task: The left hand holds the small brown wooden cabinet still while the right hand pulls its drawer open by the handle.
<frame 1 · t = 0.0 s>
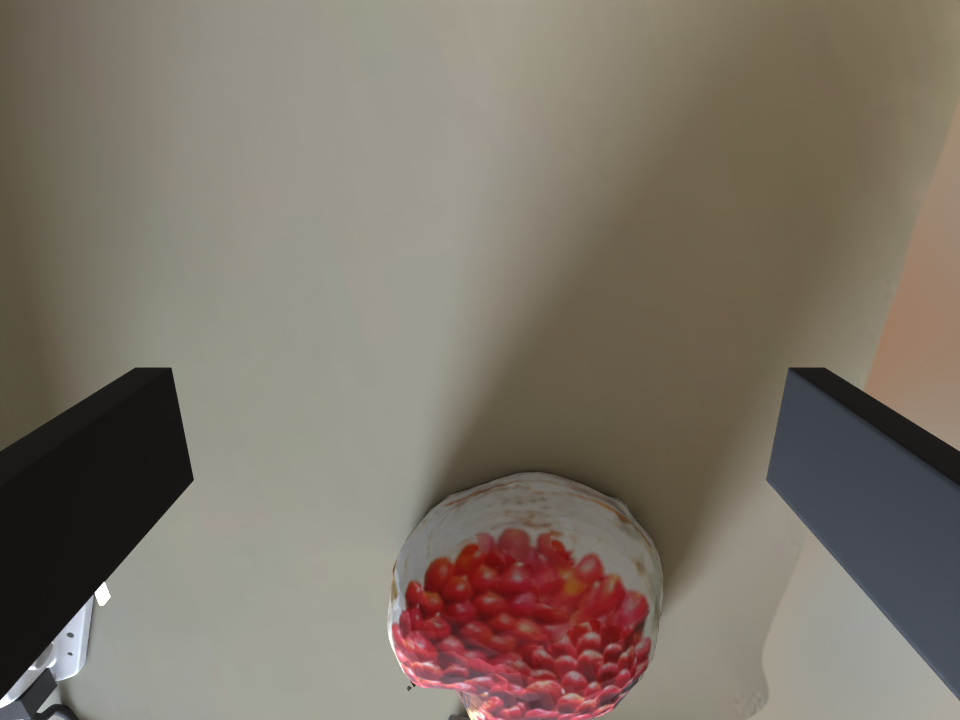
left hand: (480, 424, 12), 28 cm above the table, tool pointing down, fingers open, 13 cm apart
cake: (522, 589, 49), on the table
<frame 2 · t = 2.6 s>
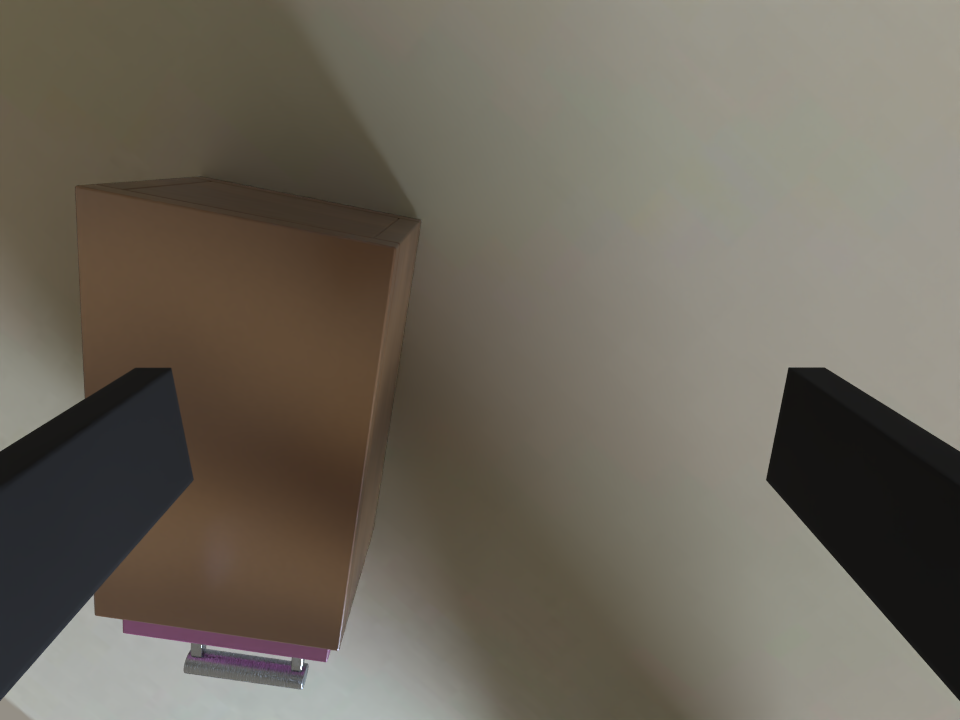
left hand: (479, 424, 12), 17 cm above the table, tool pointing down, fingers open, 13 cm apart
cabinet: (296, 372, 30), on the table
drawer: (259, 505, 28), point 4 cm above the table, slide at 0.7 cm
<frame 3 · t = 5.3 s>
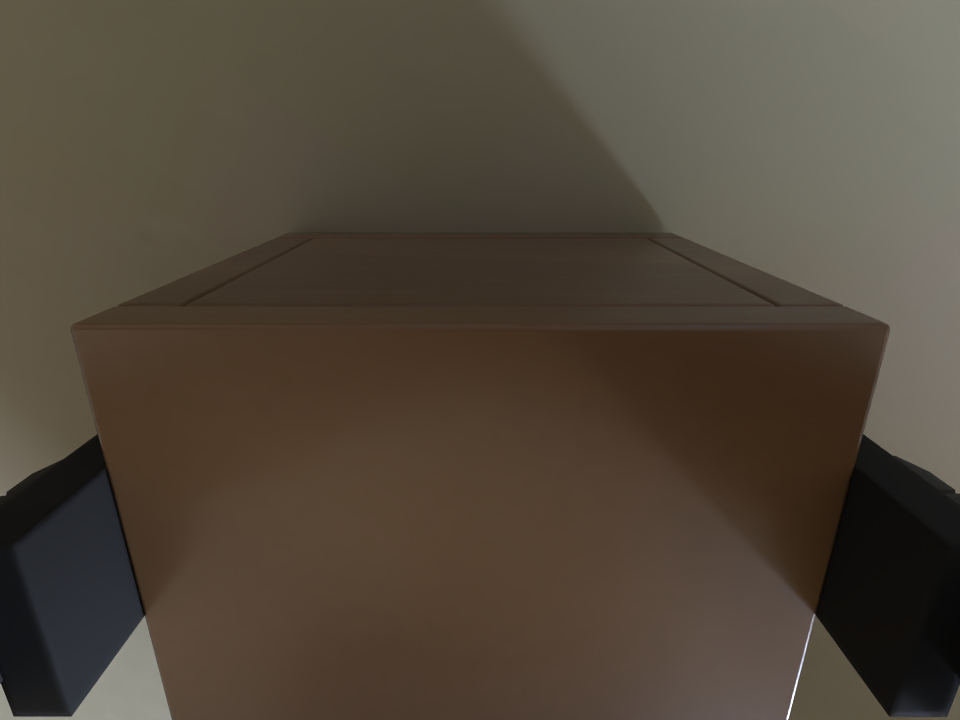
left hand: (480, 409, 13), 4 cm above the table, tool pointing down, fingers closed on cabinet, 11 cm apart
cabinet: (480, 512, 19), on the table, touching left hand
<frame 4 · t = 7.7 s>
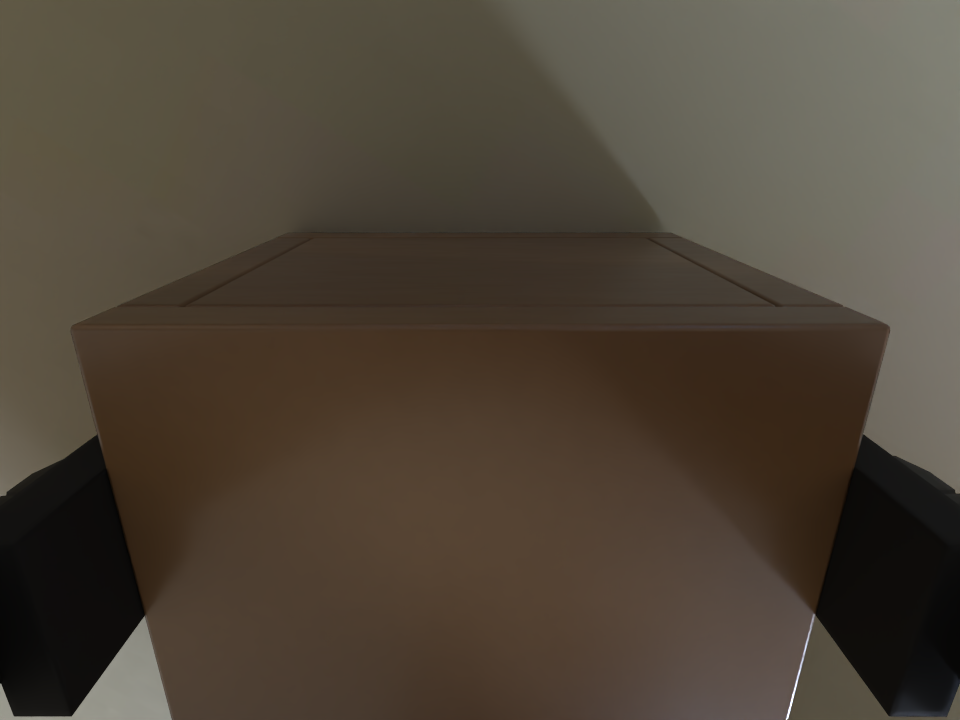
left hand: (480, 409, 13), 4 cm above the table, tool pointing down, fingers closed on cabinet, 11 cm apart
cabinet: (479, 512, 19), on the table, touching left hand
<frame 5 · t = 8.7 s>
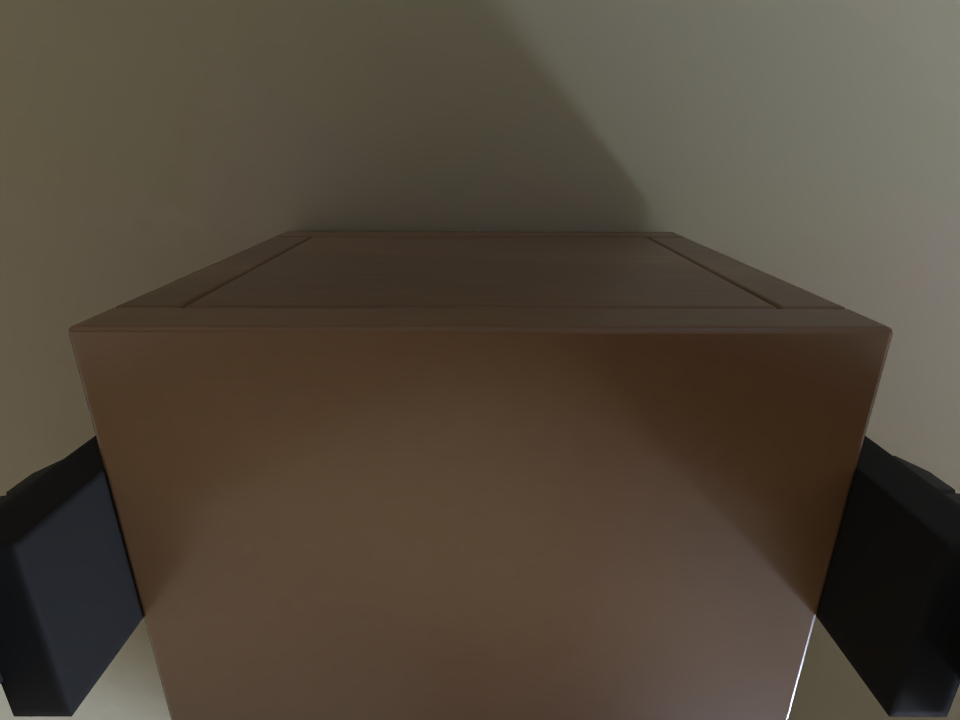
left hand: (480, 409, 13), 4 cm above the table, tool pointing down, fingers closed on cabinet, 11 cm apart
cabinet: (479, 511, 19), on the table, touching left hand
when the left hand's fingers open (4 cm above the table, at t = 10.3 s): cabinet stays where it is, on the table.
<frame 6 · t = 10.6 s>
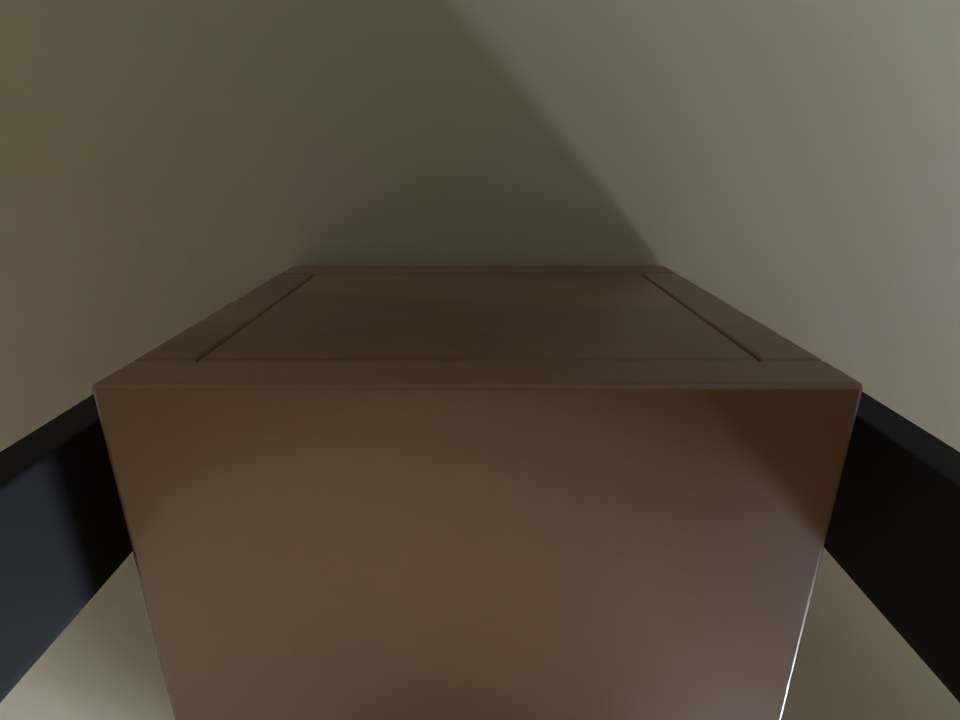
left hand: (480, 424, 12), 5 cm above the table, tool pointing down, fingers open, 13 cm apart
cabinet: (479, 535, 19), on the table
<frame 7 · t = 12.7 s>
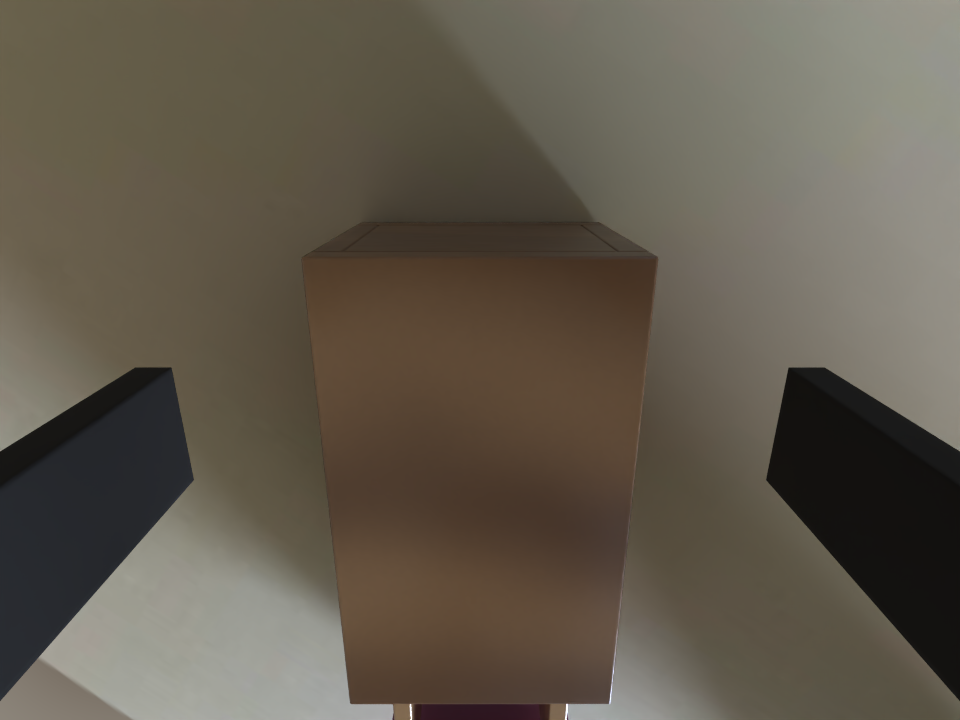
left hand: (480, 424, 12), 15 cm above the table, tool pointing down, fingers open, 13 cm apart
cabinet: (480, 409, 28), on the table
drawer: (480, 668, 28), point 4 cm above the table, slide at 7.5 cm
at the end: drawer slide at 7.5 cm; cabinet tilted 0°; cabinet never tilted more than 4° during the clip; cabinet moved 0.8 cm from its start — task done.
